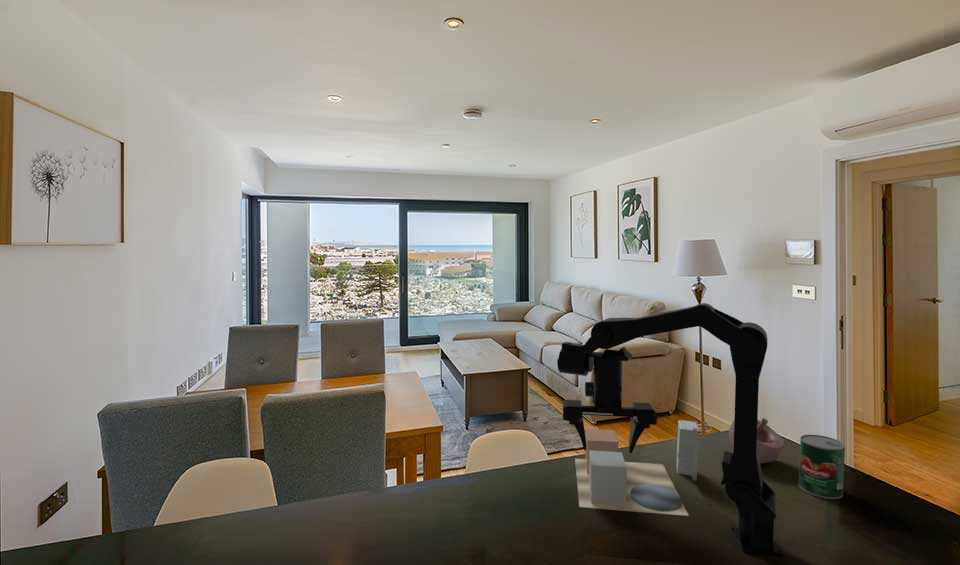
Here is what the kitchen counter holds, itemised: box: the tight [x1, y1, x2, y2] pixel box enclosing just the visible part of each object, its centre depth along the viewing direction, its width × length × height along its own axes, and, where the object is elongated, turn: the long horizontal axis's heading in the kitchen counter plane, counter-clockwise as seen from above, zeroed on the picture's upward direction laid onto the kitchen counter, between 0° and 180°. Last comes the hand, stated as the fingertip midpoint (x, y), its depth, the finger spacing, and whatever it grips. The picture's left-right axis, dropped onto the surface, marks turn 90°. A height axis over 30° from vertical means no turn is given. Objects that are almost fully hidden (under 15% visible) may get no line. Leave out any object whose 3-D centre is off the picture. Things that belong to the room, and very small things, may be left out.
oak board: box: [574, 458, 690, 517], centre depth 101 cm, size 22×21×2 cm
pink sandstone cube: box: [584, 428, 619, 474], centre depth 108 cm, size 7×7×8 cm
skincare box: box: [675, 420, 700, 482], centre depth 107 cm, size 6×4×12 cm
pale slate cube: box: [589, 450, 627, 505], centre depth 96 cm, size 7×7×8 cm
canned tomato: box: [797, 434, 846, 500], centre depth 99 cm, size 8×8×11 cm
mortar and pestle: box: [728, 417, 786, 464], centre depth 113 cm, size 12×12×12 cm
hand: (607, 451), depth 95 cm, fingers open, 9 cm apart
